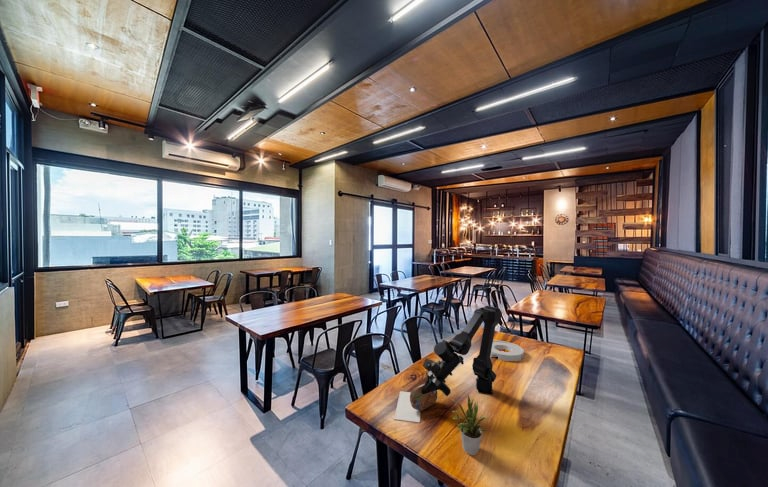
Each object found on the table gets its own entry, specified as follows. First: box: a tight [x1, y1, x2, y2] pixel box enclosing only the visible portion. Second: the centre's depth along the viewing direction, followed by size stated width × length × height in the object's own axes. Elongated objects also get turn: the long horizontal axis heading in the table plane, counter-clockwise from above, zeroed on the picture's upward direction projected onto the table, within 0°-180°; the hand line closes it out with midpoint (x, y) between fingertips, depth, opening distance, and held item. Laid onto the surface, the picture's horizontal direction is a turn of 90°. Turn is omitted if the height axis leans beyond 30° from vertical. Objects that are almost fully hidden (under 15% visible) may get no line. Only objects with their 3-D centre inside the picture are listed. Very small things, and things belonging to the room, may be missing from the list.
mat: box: [393, 390, 422, 424], centre depth 119 cm, size 10×20×1 cm, turn 170°
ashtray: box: [490, 340, 525, 362], centre depth 174 cm, size 23×23×4 cm
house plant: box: [451, 393, 490, 456], centre depth 96 cm, size 14×14×16 cm
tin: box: [410, 383, 438, 412], centre depth 119 cm, size 15×3×8 cm, turn 131°
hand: (422, 393), depth 117 cm, fingers closed
